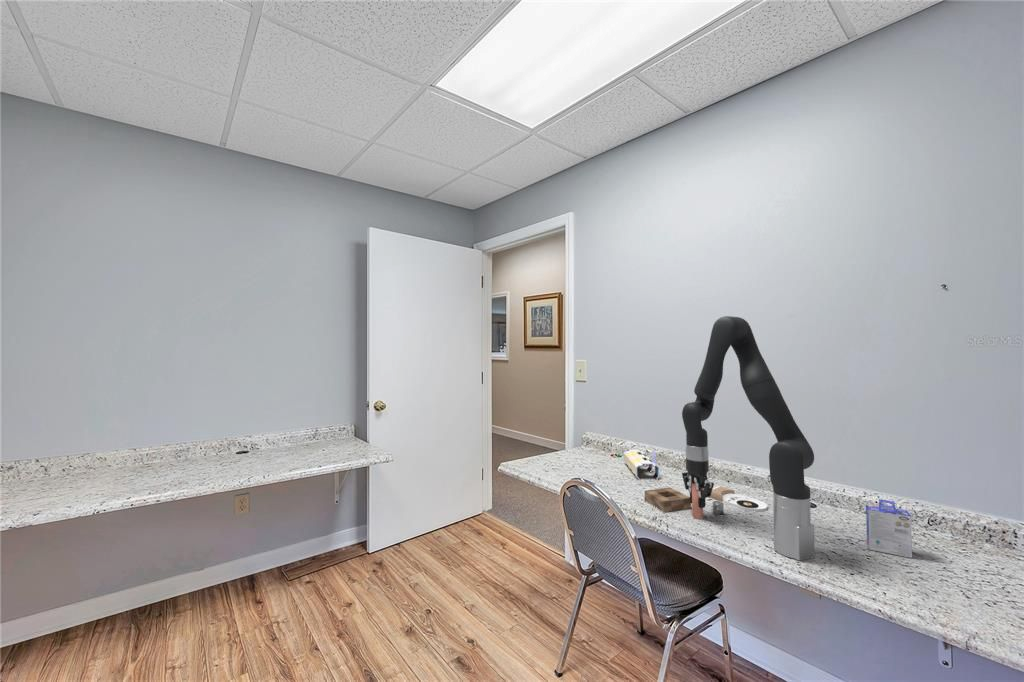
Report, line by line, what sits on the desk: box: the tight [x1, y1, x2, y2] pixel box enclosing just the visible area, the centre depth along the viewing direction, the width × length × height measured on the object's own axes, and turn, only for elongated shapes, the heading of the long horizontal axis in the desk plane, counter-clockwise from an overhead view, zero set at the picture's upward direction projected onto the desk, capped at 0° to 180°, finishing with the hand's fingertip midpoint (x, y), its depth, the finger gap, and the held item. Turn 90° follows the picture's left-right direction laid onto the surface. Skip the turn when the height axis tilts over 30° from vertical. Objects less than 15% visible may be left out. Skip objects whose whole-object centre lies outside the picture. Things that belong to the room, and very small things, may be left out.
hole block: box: [644, 487, 692, 513], centre depth 161 cm, size 12×12×4 cm
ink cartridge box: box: [865, 498, 913, 559], centre depth 125 cm, size 10×6×14 cm, turn 58°
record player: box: [708, 485, 768, 513], centre depth 163 cm, size 12×3×20 cm
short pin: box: [712, 500, 725, 516], centre depth 152 cm, size 4×4×4 cm
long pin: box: [691, 483, 704, 520], centre depth 149 cm, size 4×4×12 cm
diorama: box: [623, 448, 660, 480], centre depth 202 cm, size 25×10×13 cm, turn 178°
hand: (697, 505), depth 149 cm, fingers closed on long pin, 3 cm apart
